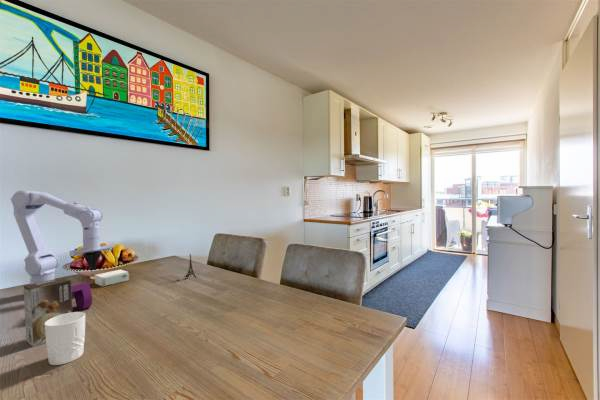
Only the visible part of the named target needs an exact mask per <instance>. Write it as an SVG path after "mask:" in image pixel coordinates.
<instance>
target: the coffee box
mask: <svg viewBox="0 0 600 400" xmlns="http://www.w3.org/2000/svg"><path fill="white" fill-rule="evenodd" d="M71 286H72V280H71V279H68V278H66V277H65V278H64V277H60V278H55V279H54V280H49V281H44V282H39V283H35V284H30V283H29V284H27V285H23V296H24V297H23V298H24V321H25V341H26V342H27V343H28V344H29V345H30V346H31V347H33V348H35V347H37V346H40V345H43V344H46V336H45V325H44V323H45V322H46V321H47V320H49V319H51V318H53V317H56V316H59V315H62V314H66V313H72V312H73V299H72V291H71Z"/></svg>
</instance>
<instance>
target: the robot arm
mask: <svg viewBox="0 0 600 400" xmlns="http://www.w3.org/2000/svg"><path fill="white" fill-rule="evenodd" d="M10 201H11V203H12V206H13V217H14V219H15V221H16V224H17V227H18V228H19V231H20V234H21V236H22V239H23V242H24V244H25V246H26V247H25V248H26V250H27V252H28V254H27V256H26V257H25V258H24V260H23V261H24V263H25V266H24V270H25V271H26V273H27V274H28V275H29V277H30V278H29V285H30V284H35V283H39V282H44V281H49V280H54V279H56V278H55V275H56V274H55V271H56V269H57V268H58V267H59V265H60V261H59V258H58V257H57V256H56V255H55V253H54V251H52V250H50V249H48V248H47V247H46V244H45V240H44V238H43V236H42V233H41V230H40V228H39V226H38V224H37V220H36V218H35V215H34V214H35V213H36V212H37V211H38V210H39V209H41V208H42V207H43V206H44V205H48V206H51V207H54V208H56V209H60V210H62V211H63V213H64V215H67V216H70V217H72V218H75V219H77V220H78V221H79V222H80V223H81V227H82V248H79V249H74V250H73V249H72V250H69V256H70V257H74V256H79V255H82V256H83V258H84V260H85V262H87V266H88V269H89V271H94V270H96V267H97V263H98V261H99V260H100V257H101V255H102V252H105V251H113V245H111V244H109V245H103V246H102V245H101V233H100V226H101V225H100V222H101V221H102V219H103V213H102V212H101V211H100V210H99V209H97V208H93V209H91V207H89V206H84V205H82V204H80V202H79V201H71V202H67V201H65V200H63V199H60V198H59V197H56V196H54V195H52V194H50V193H49V192H45V191H42V190H18V191H16V192H15V193H13V194H12V197H11V198H10Z"/></svg>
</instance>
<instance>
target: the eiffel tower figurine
mask: <svg viewBox="0 0 600 400" xmlns="http://www.w3.org/2000/svg"><path fill="white" fill-rule="evenodd" d="M185 275H186V276H185ZM185 275H184V276H185V277H187V278H186V279H188V277H189V276H194V277H195V278H196V277H197V275H196V274H195V271H194V269H193V265H192V254H191V253H190V254H189V267H188V270H187V273H186V274H185ZM195 275H196V276H195ZM186 279H185V280H186ZM196 279H197V278H196Z"/></svg>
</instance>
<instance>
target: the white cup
mask: <svg viewBox="0 0 600 400" xmlns="http://www.w3.org/2000/svg"><path fill="white" fill-rule="evenodd" d="M44 325H45V336H46V343H45V345H46V352H47V358H48V359H47V360H48V364H50V366H60V365H64V364H65V365H66V364H68V363H71V362H73V361H75V360H77V359H79V358H81V356H83V354H84V351H85V350H84V349H85V338H86V313H85V312H83V311H74V312H73V311H72V313H66V314H62V315H59V316H56V317H53V318H51V319H49V320H47V321H46V322H45V323H44Z"/></svg>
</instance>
